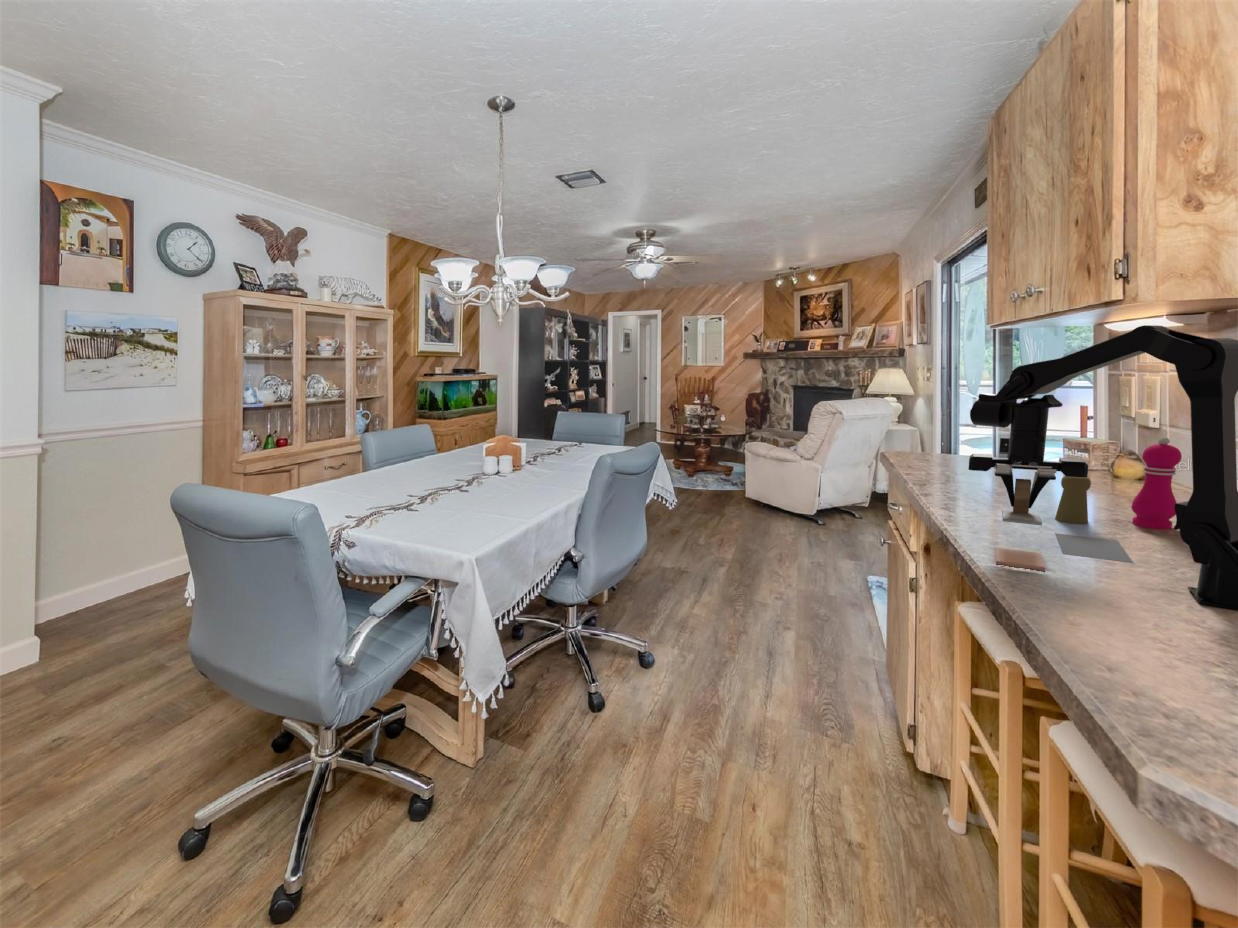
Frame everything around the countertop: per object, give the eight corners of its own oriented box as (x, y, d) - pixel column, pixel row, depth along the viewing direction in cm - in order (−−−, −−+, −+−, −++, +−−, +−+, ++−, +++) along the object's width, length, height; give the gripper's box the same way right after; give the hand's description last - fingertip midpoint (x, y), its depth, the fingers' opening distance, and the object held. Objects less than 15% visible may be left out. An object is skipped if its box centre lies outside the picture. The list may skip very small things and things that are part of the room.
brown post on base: (1041, 525, 103) (1045, 488, 102) (1002, 521, 106) (1005, 485, 105) (1038, 514, 110) (1041, 480, 109) (1001, 510, 114) (1004, 477, 112)
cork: (1048, 521, 127) (1053, 474, 125) (1063, 517, 130) (1068, 471, 128) (1079, 527, 122) (1084, 479, 120) (1094, 523, 124) (1100, 476, 122)
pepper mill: (1159, 533, 116) (1173, 440, 113) (1120, 524, 123) (1132, 436, 120) (1183, 530, 118) (1197, 438, 115) (1143, 521, 125) (1155, 434, 122)
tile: (1040, 559, 105) (1043, 574, 97) (995, 553, 109) (996, 567, 101) (1040, 552, 104) (1044, 567, 97) (996, 547, 108) (996, 560, 101)
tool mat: (1133, 565, 99) (1133, 562, 99) (1062, 556, 105) (1062, 553, 105) (1117, 542, 112) (1117, 540, 111) (1054, 535, 117) (1054, 533, 117)
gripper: (1084, 427, 109) (1075, 503, 112) (972, 424, 120) (967, 494, 122) (1092, 433, 100) (1083, 516, 103) (971, 429, 110) (965, 505, 113)
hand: (1020, 507), depth 110 cm, fingers closed on brown post on base, 2 cm apart
